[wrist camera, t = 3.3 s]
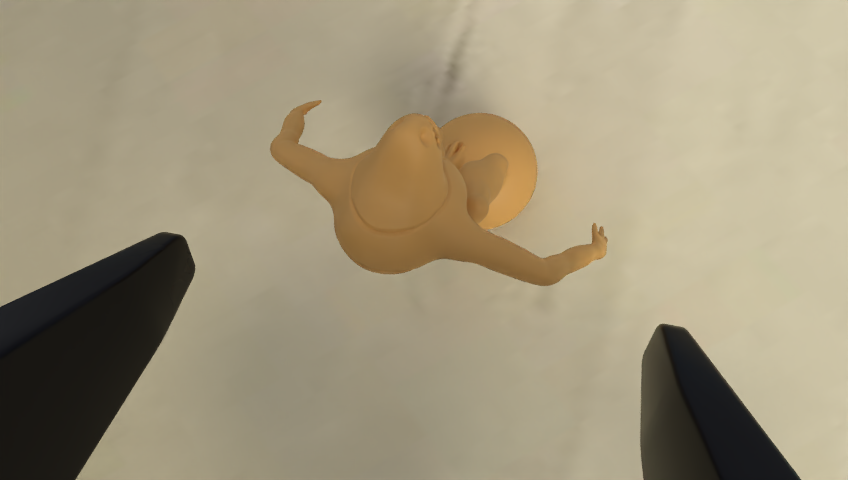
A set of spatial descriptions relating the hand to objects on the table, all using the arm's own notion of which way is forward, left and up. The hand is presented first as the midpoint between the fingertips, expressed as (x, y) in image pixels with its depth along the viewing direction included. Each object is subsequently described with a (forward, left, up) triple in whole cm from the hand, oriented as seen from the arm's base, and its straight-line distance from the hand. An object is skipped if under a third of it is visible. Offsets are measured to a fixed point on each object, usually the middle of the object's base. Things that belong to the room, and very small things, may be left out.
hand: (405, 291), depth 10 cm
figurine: (0, -3, -10) cm, 11 cm away
